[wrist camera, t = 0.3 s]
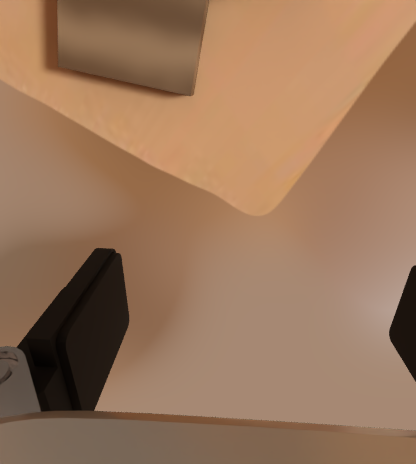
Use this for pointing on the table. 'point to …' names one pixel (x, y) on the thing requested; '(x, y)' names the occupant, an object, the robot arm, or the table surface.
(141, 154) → the table surface
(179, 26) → the brownish grey square block
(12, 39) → the table surface
